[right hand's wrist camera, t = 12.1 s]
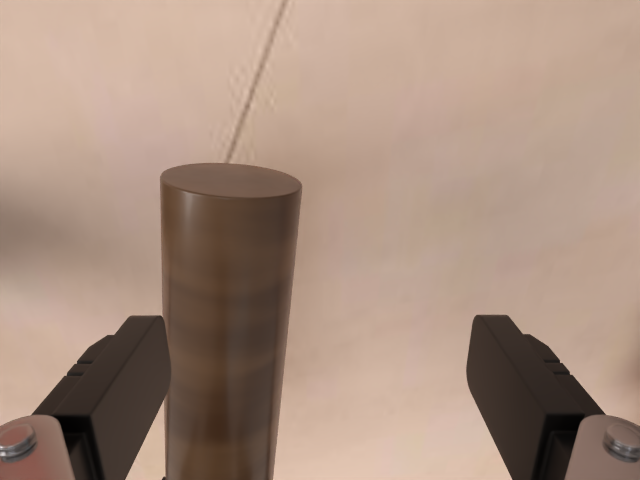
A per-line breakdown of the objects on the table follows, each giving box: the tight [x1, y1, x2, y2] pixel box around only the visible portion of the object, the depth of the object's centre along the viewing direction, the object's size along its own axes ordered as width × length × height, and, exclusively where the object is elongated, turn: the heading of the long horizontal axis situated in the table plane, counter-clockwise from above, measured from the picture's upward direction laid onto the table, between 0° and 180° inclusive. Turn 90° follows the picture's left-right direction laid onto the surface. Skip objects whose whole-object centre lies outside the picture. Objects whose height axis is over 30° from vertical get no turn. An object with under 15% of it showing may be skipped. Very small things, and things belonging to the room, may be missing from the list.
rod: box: [160, 163, 302, 480], centre depth 22 cm, size 23×6×6 cm, turn 174°
